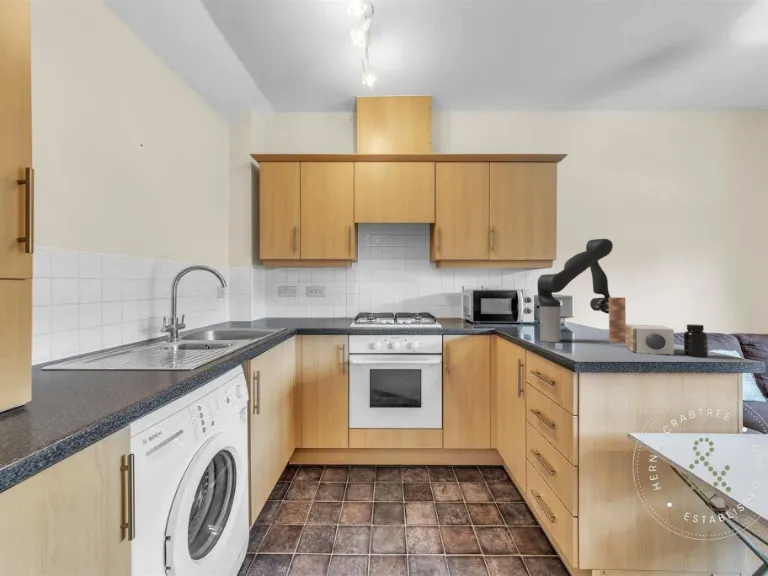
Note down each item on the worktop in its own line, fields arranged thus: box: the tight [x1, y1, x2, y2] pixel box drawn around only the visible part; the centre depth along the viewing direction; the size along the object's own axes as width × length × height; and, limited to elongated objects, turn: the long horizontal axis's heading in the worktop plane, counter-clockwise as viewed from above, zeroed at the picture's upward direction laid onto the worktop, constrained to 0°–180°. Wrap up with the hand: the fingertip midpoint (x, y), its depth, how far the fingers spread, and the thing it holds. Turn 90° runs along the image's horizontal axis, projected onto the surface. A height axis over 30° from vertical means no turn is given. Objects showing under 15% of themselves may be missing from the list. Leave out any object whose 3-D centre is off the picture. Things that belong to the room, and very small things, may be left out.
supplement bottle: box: [683, 324, 709, 358], centre depth 132 cm, size 7×7×12 cm
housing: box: [628, 324, 675, 356], centre depth 142 cm, size 12×16×10 cm
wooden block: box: [608, 297, 636, 353], centre depth 147 cm, size 7×14×22 cm, turn 156°
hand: (613, 307), depth 159 cm, fingers closed
